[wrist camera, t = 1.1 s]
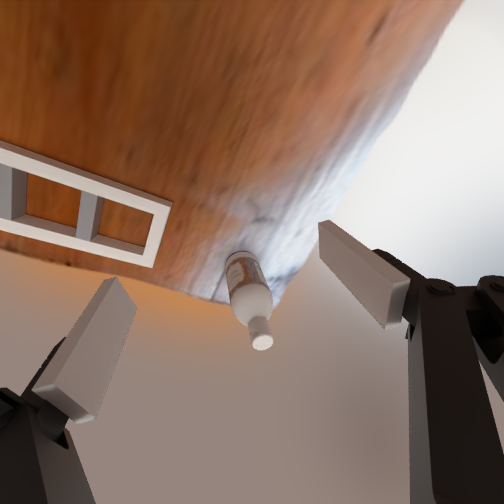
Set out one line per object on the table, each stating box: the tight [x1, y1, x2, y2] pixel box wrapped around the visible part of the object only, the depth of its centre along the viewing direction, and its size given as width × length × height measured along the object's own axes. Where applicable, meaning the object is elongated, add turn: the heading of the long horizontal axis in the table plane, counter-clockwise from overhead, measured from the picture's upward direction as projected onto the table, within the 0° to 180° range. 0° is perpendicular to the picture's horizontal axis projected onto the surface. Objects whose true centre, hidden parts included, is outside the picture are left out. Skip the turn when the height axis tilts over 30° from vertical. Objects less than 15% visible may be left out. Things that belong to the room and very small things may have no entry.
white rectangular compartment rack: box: [0, 140, 173, 268], centre depth 33 cm, size 32×12×3 cm, turn 66°
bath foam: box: [225, 252, 273, 350], centre depth 38 cm, size 7×7×20 cm
